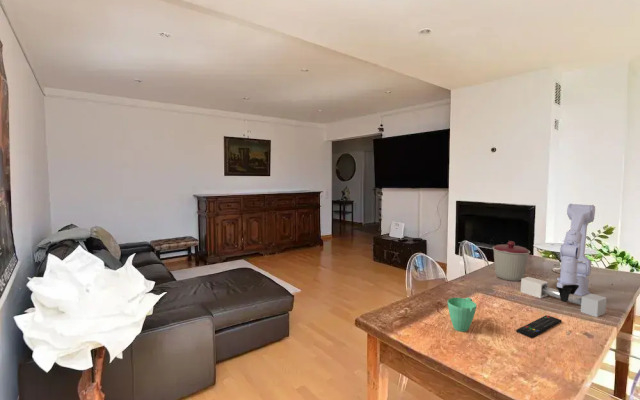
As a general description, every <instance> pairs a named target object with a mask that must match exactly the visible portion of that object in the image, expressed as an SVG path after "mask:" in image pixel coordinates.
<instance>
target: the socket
mask: <svg viewBox="0 0 640 400" xmlns="http://www.w3.org/2000/svg"><path fill="white" fill-rule="evenodd" d="M581 297H582V301H581V305H580V312H581V313H583V314H586V315H589V316H592V317H595V318H598V317H601V316H602V315H605V314H606V311H607V310H606V309H607V299H608V298H607V297H606V296H601V295H599V294H594V293H591V292H590V293H588V294H586V295H583V296H581Z"/></svg>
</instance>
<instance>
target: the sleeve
mask: <svg viewBox="0 0 640 400" xmlns="http://www.w3.org/2000/svg"><path fill="white" fill-rule="evenodd" d="M542 286H546V287H549V281H546V280H543V279H539V278H534V277H531V276H527V277H525V276H524V277H523V278H522V279H521V280H520V293H522V294H525V295H529V296H533V297H535V298H537V299H538V298H539V299H542V298H546V297H548V295H546V294H543V293H542Z"/></svg>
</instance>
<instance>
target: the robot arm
mask: <svg viewBox="0 0 640 400" xmlns="http://www.w3.org/2000/svg"><path fill="white" fill-rule="evenodd" d="M566 215H567V217H568V219H569V220H570V221H571V222H570V230H567V231H566V232H565V237H564V239H563V240H564V241H563V244H561V246H560V247H559V249H560V250H559V255H560V274H559V275H560V276H559V277H557V278H556V280H557V282H556V285H555V286H556V289H557V290H558V291H559V294H560V298H561V299H560V301H561V302H564V303H568V302H569V301H568V298H569V294H570V293H571V294H574V295H578V296H581V297H582V296H585V295H587V294H590V293H591V291H589V283H590V281H589V276H591V272H592V261H591V259H589V258H588V257H587V256H586V255H585V252H586V242H587V231H588V230H587V229H588V226H589V223H593V222H594V220H595V216H596V206H595V205H594V204H577V203H575V204H574V203H569V204H568V205H567V208H566Z"/></svg>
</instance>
